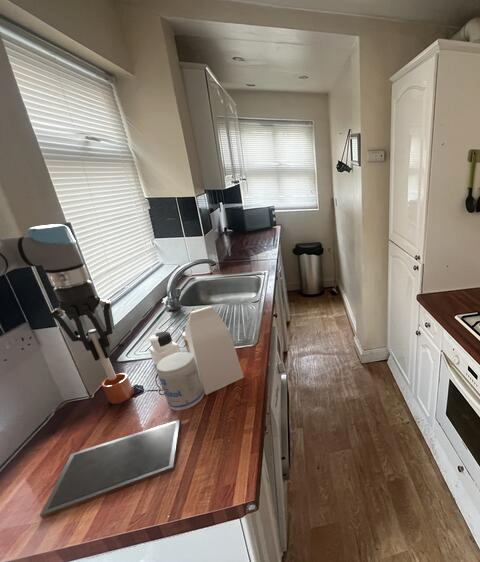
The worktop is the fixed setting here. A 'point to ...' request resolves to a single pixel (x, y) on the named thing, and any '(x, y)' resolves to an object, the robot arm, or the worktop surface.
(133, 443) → the tablet
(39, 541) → the worktop surface
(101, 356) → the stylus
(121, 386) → the pen cup
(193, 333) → the milk
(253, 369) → the worktop surface
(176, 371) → the supplement tub
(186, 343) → the sprinkles bottle
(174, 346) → the medicine bottle
